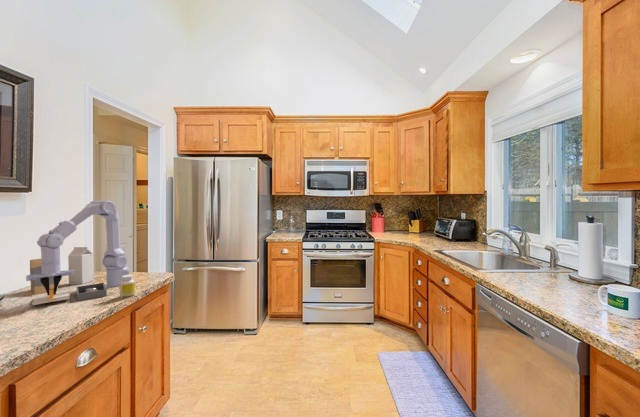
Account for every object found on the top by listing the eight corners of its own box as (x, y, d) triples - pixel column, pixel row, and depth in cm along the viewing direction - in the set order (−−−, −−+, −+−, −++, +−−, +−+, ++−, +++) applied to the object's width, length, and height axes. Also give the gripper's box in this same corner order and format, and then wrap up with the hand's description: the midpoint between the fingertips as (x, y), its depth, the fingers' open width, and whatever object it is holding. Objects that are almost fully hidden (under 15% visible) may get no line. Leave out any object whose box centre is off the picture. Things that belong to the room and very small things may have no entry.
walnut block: (97, 293, 130) (97, 289, 130) (97, 296, 127) (97, 291, 127) (85, 295, 127) (85, 291, 127) (86, 298, 124) (86, 293, 124)
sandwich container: (33, 297, 128) (32, 264, 128) (30, 290, 138) (29, 259, 138) (59, 292, 135) (58, 261, 134) (54, 286, 145) (53, 257, 144)
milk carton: (82, 284, 146) (81, 248, 146) (68, 284, 146) (67, 248, 146) (93, 281, 153) (92, 246, 153) (80, 281, 153) (79, 246, 153)
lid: (70, 294, 131) (69, 283, 132) (69, 299, 119) (69, 287, 119) (35, 299, 124) (35, 288, 124) (31, 306, 111) (31, 293, 111)
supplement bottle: (137, 296, 128) (136, 275, 128) (124, 300, 123) (124, 277, 123) (130, 294, 130) (129, 273, 130) (117, 298, 125) (116, 276, 125)
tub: (104, 289, 138) (103, 282, 138) (106, 297, 127) (106, 289, 127) (76, 294, 131) (76, 286, 131) (77, 302, 121) (77, 294, 121)
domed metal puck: (96, 290, 135) (96, 286, 135) (96, 292, 132) (96, 288, 132) (85, 292, 133) (85, 288, 132) (85, 294, 129) (85, 290, 129)
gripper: (24, 266, 111) (25, 301, 111) (73, 261, 120) (74, 293, 121) (27, 263, 116) (28, 296, 117) (73, 258, 126) (74, 289, 126)
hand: (51, 294), depth 119 cm, fingers closed on lid
